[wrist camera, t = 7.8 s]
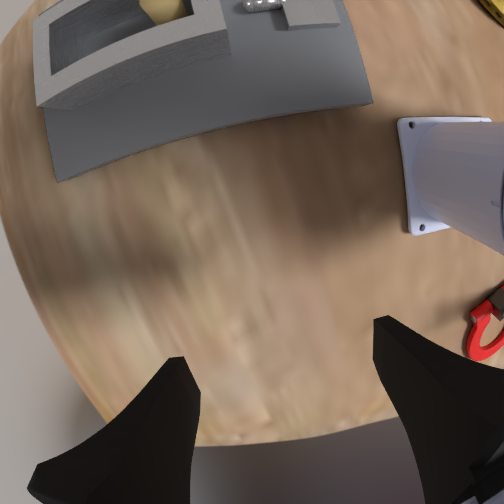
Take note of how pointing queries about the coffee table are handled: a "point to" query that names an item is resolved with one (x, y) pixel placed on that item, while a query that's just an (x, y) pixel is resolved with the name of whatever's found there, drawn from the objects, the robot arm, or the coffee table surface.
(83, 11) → the steel link
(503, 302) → the tow hook
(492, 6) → the olive flat disc
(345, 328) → the coffee table surface
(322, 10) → the chain anchor
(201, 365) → the coffee table surface
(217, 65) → the board
